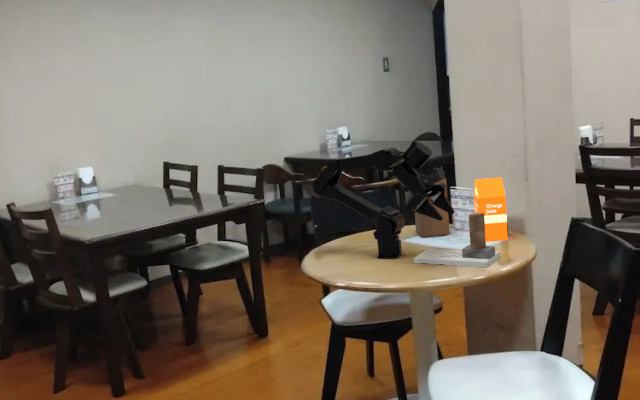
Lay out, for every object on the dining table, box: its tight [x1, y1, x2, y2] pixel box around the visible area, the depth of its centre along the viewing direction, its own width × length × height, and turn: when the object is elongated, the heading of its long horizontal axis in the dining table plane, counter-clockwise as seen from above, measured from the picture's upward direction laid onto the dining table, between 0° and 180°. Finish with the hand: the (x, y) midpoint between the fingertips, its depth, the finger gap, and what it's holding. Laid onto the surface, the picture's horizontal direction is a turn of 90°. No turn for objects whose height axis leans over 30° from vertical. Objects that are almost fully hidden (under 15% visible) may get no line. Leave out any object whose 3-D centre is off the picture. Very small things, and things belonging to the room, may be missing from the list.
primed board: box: [413, 247, 500, 268], centre depth 198 cm, size 22×12×2 cm, turn 58°
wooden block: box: [414, 178, 450, 238], centre depth 233 cm, size 10×10×20 cm
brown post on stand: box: [461, 212, 496, 259], centre depth 193 cm, size 8×5×12 cm, turn 56°
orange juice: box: [473, 176, 509, 243], centre depth 218 cm, size 8×9×20 cm
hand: (447, 216), depth 197 cm, fingers open, 9 cm apart
